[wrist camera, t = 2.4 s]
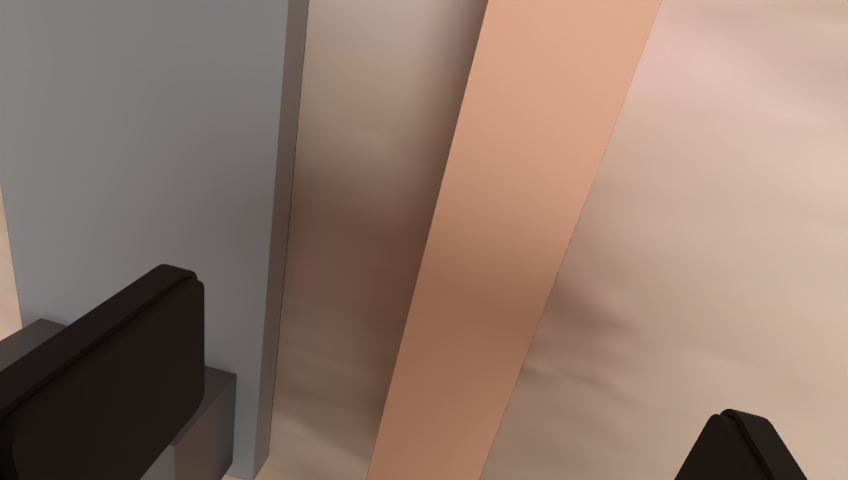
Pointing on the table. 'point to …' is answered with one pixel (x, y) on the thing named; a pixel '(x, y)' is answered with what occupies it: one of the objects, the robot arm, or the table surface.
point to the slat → (504, 222)
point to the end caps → (196, 442)
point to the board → (156, 166)
